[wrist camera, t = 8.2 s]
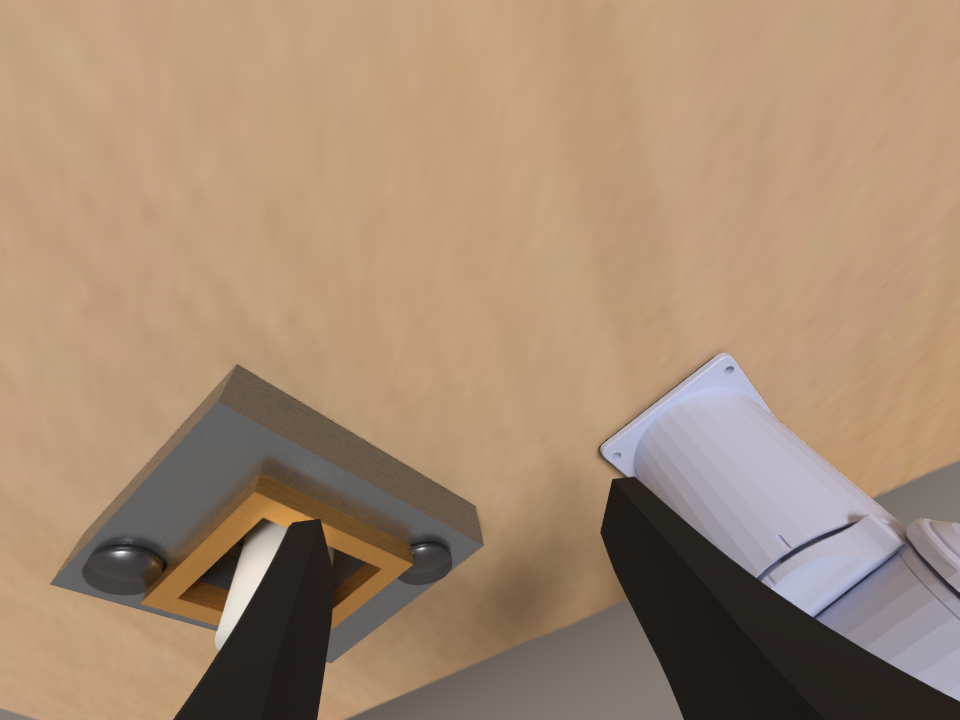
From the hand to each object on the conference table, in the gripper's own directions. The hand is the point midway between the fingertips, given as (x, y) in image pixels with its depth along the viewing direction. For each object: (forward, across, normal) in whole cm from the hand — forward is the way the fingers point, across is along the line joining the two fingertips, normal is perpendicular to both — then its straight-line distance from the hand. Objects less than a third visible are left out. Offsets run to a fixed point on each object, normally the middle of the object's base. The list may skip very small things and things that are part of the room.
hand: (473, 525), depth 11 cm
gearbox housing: (+9, +7, +9) cm, 15 cm away
